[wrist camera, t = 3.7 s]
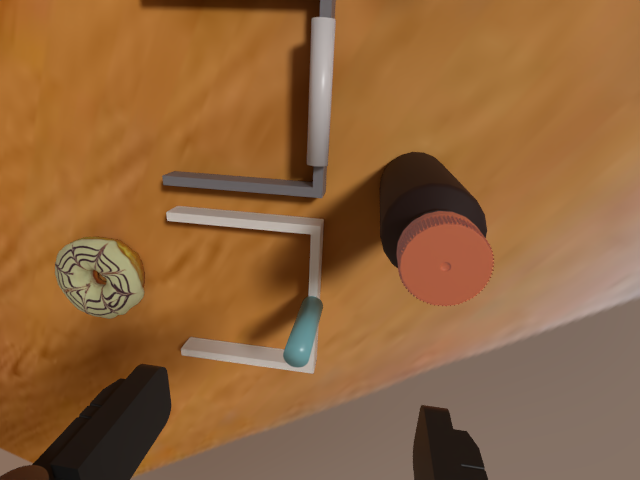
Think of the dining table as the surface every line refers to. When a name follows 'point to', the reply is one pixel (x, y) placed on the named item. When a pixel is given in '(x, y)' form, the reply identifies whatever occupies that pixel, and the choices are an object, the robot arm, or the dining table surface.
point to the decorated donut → (88, 288)
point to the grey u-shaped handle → (316, 125)
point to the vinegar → (433, 231)
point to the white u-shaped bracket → (305, 329)
